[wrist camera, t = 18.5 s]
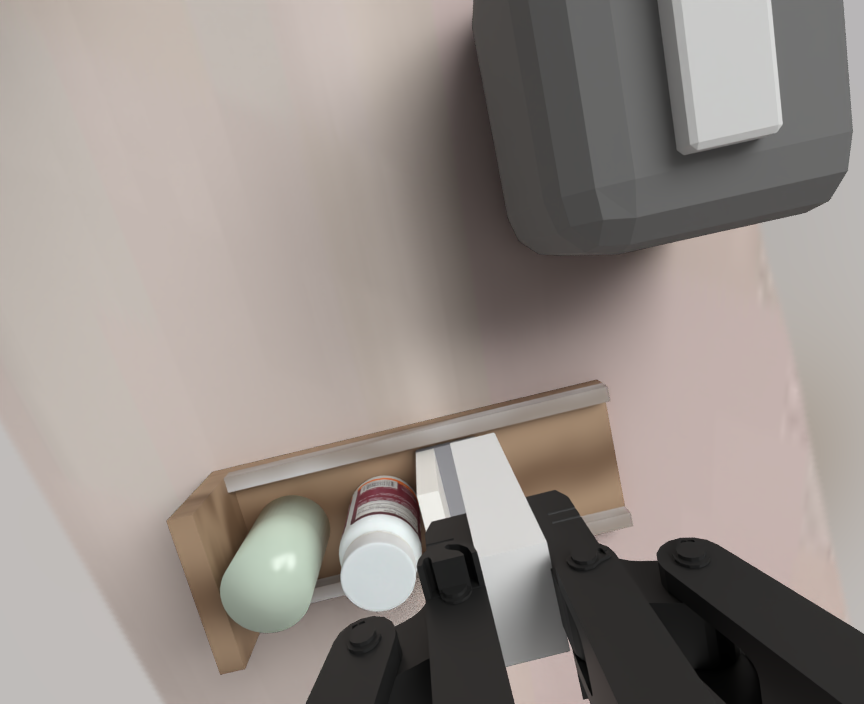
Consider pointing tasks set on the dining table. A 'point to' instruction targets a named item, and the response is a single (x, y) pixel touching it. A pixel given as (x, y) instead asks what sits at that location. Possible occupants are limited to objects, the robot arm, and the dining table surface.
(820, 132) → the alarm clock
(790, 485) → the dining table surface
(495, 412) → the tray
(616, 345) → the dining table surface
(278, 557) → the pale green rounded block
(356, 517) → the pill bottle
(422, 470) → the paddle
